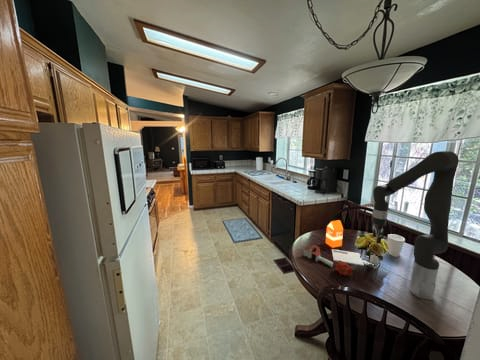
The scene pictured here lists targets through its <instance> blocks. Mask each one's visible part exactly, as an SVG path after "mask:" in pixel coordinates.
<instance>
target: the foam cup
mask: <svg viewBox="0 0 480 360" xmlns="http://www.w3.org/2000/svg"><path fill="white" fill-rule="evenodd" d="M405 242H406V239H405V237H403V236H401V235H399V234H395V233H394V234H392V233H390V234H387V247H388V246H389V252H388V251H387V253H388V254H389V255H390V256H392V257H396V258H397V257H400V255H401V252H402V250H403V248H404V247H403V246H404V245H405Z"/></svg>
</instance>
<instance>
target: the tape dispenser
mask: <svg viewBox="0 0 480 360" xmlns="http://www.w3.org/2000/svg"><path fill="white" fill-rule="evenodd" d="M313 255H314V256H315V262H319V261H320V262H322V263H324V264H325V265H328V266H329V267H330V268H333V267H334V261H331V260H329V259H326V258H324V257H322V256H321V250H320V247H319V246H318V245H316V244H312V245H311V246H309V247H308V248H307V249H303V256H304V257H307V258H308V259H312V257H313Z"/></svg>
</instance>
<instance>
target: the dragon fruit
mask: <svg viewBox="0 0 480 360" xmlns="http://www.w3.org/2000/svg"><path fill="white" fill-rule="evenodd" d="M333 269H334V270H335V271H337V272H338V273H339V275H340V276H342V275H343V276H344V277H350V276H351V275H353V274H354V273H356V271H355V268H354V267H351V266H350V264H349V263H345V262H342V261H340V260H339V261H334V262H333Z"/></svg>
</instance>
